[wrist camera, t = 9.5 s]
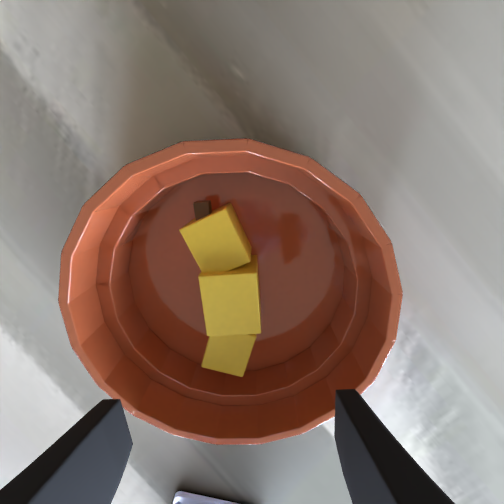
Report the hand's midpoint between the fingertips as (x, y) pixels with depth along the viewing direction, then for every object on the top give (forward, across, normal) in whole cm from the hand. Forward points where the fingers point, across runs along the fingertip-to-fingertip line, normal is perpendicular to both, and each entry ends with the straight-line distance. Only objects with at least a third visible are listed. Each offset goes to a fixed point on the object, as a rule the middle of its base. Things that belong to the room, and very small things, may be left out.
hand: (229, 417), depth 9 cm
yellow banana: (+8, 0, -1) cm, 9 cm away
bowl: (+9, 0, -1) cm, 9 cm away
